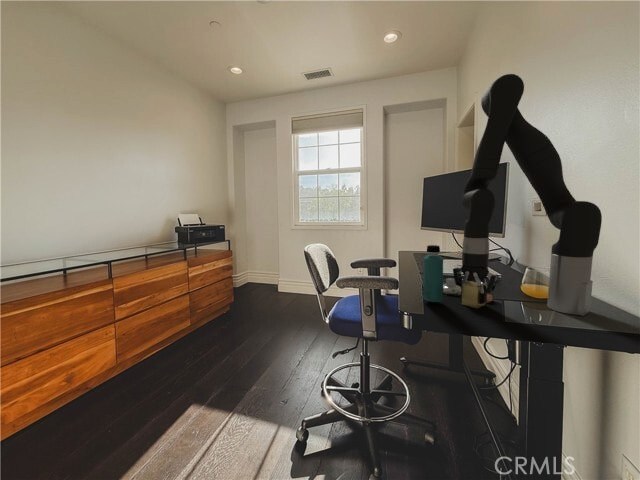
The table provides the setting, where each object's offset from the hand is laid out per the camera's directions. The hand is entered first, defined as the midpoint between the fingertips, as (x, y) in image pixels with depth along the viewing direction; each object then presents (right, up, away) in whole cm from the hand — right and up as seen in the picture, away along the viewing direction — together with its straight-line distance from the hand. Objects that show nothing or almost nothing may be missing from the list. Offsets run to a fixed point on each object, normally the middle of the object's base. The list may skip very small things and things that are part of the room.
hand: (473, 301), depth 90 cm
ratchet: (+2, 0, +9) cm, 10 cm away
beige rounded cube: (0, -1, 0) cm, 1 cm away
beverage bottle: (-12, -2, +3) cm, 13 cm away
